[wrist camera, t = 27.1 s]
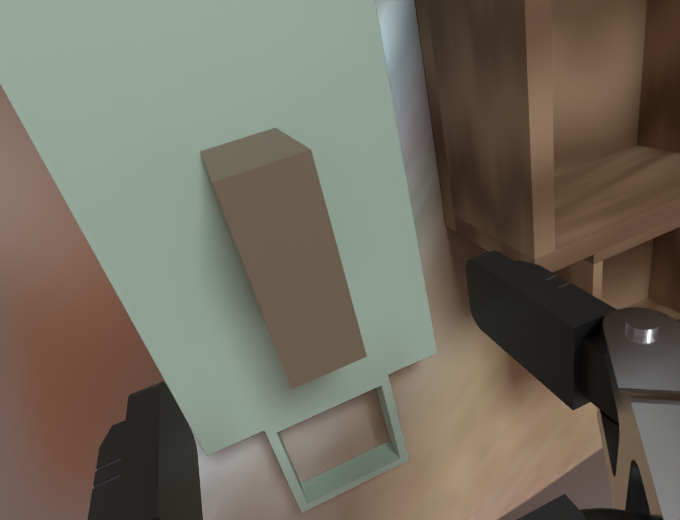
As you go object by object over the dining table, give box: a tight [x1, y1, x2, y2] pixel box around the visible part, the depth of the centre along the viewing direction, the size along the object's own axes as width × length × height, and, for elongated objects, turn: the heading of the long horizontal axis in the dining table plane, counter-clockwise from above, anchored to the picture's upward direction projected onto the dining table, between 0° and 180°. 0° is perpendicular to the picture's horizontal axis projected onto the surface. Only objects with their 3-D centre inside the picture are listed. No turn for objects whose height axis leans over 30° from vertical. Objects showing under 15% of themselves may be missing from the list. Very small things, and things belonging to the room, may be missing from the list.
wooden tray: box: [415, 0, 680, 320], centre depth 20 cm, size 27×13×7 cm, turn 15°
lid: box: [0, 0, 437, 513], centre depth 20 cm, size 27×13×8 cm, turn 15°
